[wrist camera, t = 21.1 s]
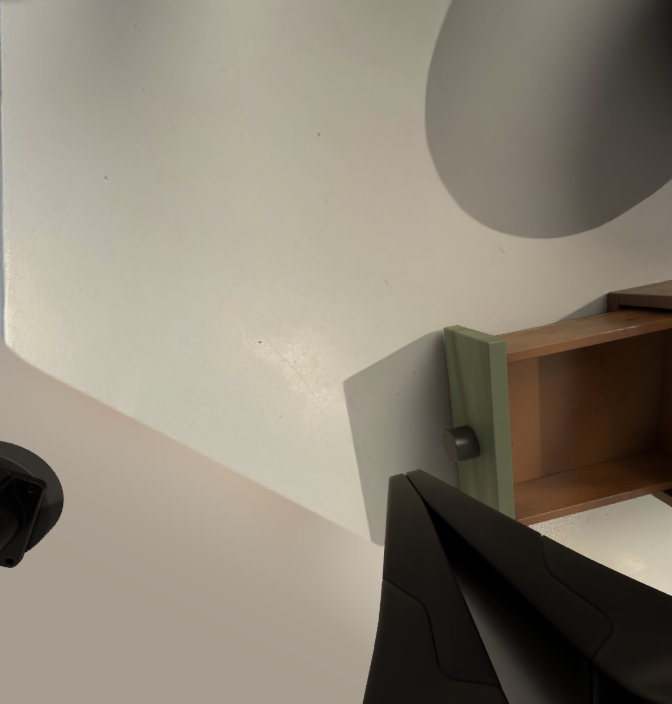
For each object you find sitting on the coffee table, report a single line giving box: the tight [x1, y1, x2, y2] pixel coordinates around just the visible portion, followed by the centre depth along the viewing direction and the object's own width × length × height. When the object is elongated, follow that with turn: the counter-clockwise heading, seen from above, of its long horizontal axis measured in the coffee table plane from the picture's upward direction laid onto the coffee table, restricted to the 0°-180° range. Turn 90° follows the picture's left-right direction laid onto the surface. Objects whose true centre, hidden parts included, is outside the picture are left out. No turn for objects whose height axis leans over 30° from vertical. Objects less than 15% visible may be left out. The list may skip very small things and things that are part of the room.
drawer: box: [443, 307, 672, 526], centre depth 21 cm, size 17×14×5 cm
